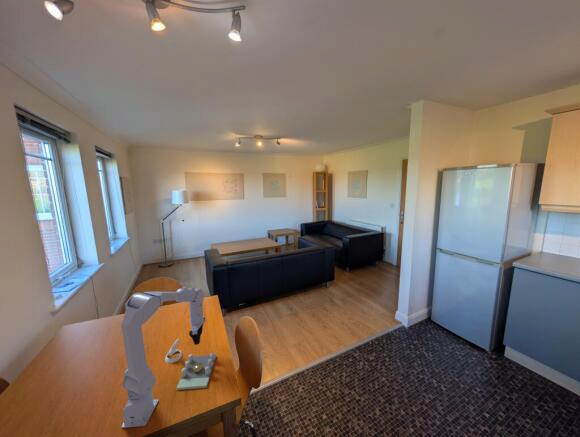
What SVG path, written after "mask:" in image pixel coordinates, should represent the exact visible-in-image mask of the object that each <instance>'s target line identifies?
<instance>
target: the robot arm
mask: <svg viewBox="0 0 580 437" xmlns="http://www.w3.org/2000/svg"><path fill="white" fill-rule="evenodd" d="M205 296H206V293H205V291H204V290H203V289H201V288H196V287H189V288H188V287H187V286H183V287H182V288H178V289H177V290H176V291H158V290H157V291H144V292H143V293H142V292H136V293H134V294H132V295H131V296H130V297H129V298H128V300H127V301H126V302H125V304H124V306H125V307H124V308H125V312H124V316H123V317H122V318H123V319H122V322H121V332H122V339H123V345H124V346H123V347H124V350H125V357H126V366H127V369H126V370H125V371H124V372H123V380H122V383H121V384H122V388H123V389H126V392H127V401H126V405H125V407H124V408H123V410H122V419H123V423H122V425H121V428H122V429H125V428H134V427H135V428H136V427H145V426H146V425H147V424H148V422H149V420H150V418H151V416H152V414H153V412H154V410H155V408H156V407H157V405H158V403H159V399H156V398H155V399H154V395H153V394H154V393H153V389H154V387H155V384H156V382H157V380H156V379H157V378H156V376H155V375H154V374H153V370H152V369H151V368H150V367H149V365H148V364H147V357H146V356H147V355H146V350H145V342H144V335H143V329H142V326H143V324H146V323H147V321H149V320H150V318H152V316H154V315H155V314H156V312H157V311H158V310H159V308H160V307H162V306H163V302H169V301H170V302H171V301H176V303H188V302H189V304H188V305H189V319H190V322H189V324H190V327H191V329H192V330H189V332H188V336H189V337H190V338H191V339H192V342H193V344H194V346H196V345H197V346H198V345H200V343H201V336H202V334H203V329H204V328H203V327H204V323H206V322H207V319H206V317H204V309H203V308H204V306H203V303H204V298H205Z"/></svg>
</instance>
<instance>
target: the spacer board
mask: <svg viewBox="0 0 580 437" xmlns="http://www.w3.org/2000/svg"><path fill="white" fill-rule="evenodd" d="M187 359H188V360H186V361H185V362H184V366H185V367H183V368H182V369H181V378H180V380H179V382H178V383H177V386H176V391H181V390H193V389H205V388H208V384H209V380H210V377H211V375H212V371H213V368H214V365H215V362H216V359H217V354H215V352H211V353H209V355H196V356H195V355H194V354H193V353H190V354H189V355H188V358H187ZM199 362H200V363H202V364H203V370H202V371H201V372H200V373H198V374H195V373H194V372H193V366H194V365H195V364H196V363H199Z"/></svg>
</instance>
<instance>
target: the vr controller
mask: <svg viewBox="0 0 580 437" xmlns="http://www.w3.org/2000/svg"><path fill="white" fill-rule="evenodd" d="M179 343H180V339H179V338H177V339H175V342H174V343H173V344H172V345H171V347H170V349H169V351H168V352H167V354H166V356H165V358H164V361H165V363H167V364H173V363H175V362H177V361H179V360H180V359H182V357H183V352H182V351H181V349H176V347H177V346H178V345H179ZM176 353H178V355H177V356H174V357H172V356H173V355H174V354H176ZM168 356H169V357H168ZM170 357H172V358H170Z"/></svg>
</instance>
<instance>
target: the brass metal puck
mask: <svg viewBox="0 0 580 437" xmlns="http://www.w3.org/2000/svg"><path fill="white" fill-rule="evenodd" d="M202 370H203V364H202V363H200V362H199V363H196V364H195V365H194V366H193V372H194V373H195V374H198V373H200V372H201V371H202Z"/></svg>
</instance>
